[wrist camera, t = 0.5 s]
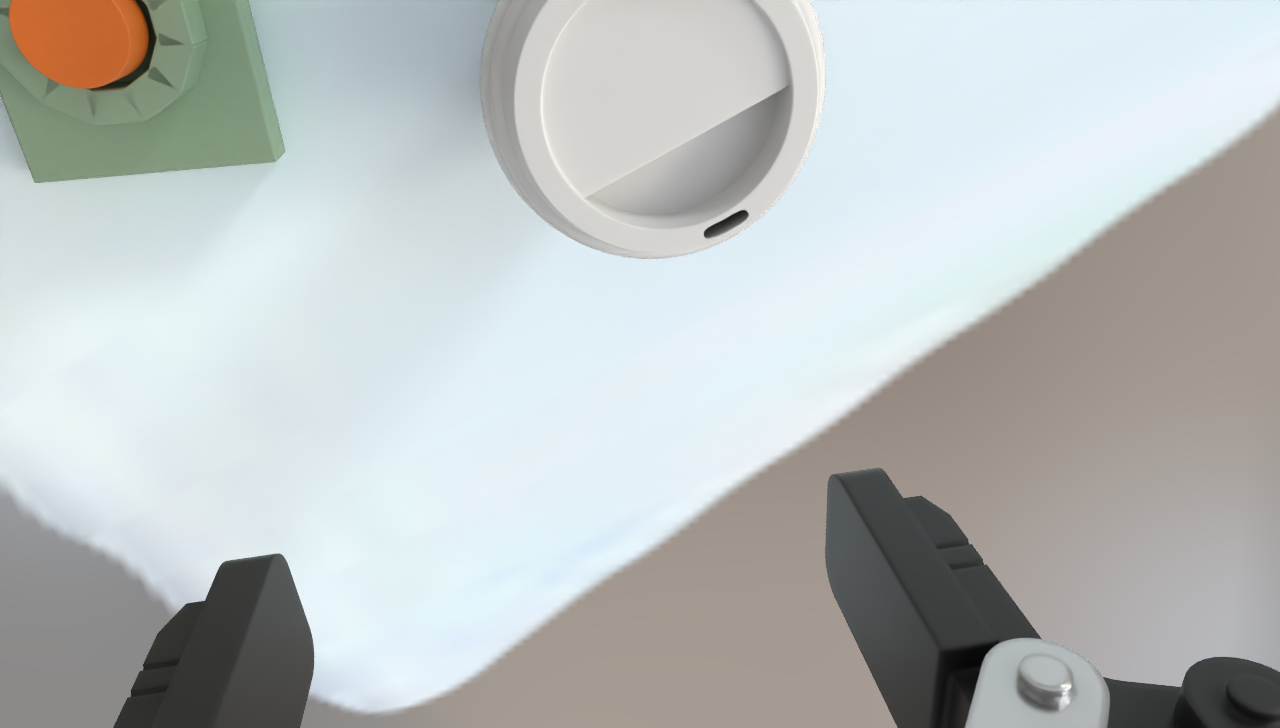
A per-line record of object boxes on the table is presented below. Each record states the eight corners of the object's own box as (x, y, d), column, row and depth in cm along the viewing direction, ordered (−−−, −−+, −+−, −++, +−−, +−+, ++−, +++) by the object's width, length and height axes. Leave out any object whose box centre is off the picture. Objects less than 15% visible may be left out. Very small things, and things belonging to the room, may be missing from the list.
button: (17, -28, 29) (-11, -25, 27) (130, -35, 29) (109, -33, 28) (56, 84, 31) (32, 93, 29) (163, 75, 31) (145, 84, 29)
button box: (-65, -146, 30) (-130, -153, 27) (209, -161, 31) (176, -169, 28) (54, 172, 35) (10, 197, 32) (285, 151, 36) (265, 174, 33)
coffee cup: (507, 166, 37) (510, 303, 24) (467, -85, 33) (445, -86, 20) (725, 140, 38) (845, 259, 25) (716, -108, 34) (856, -124, 20)
